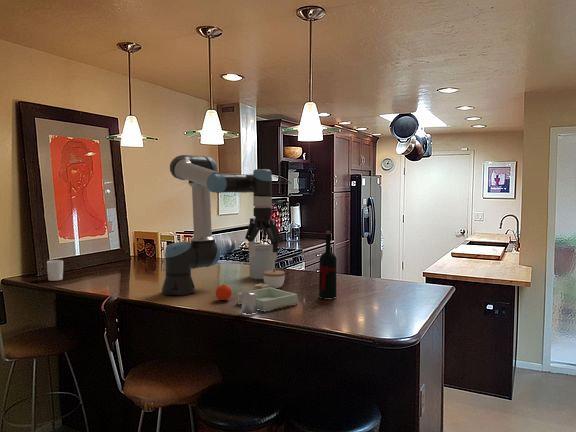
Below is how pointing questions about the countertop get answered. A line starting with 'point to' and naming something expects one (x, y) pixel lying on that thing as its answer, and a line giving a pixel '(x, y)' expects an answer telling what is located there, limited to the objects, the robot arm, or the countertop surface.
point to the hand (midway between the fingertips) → (262, 258)
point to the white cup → (55, 270)
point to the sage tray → (272, 298)
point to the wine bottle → (327, 271)
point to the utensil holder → (261, 261)
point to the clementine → (223, 292)
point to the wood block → (260, 286)
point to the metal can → (249, 302)
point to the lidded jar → (274, 278)
